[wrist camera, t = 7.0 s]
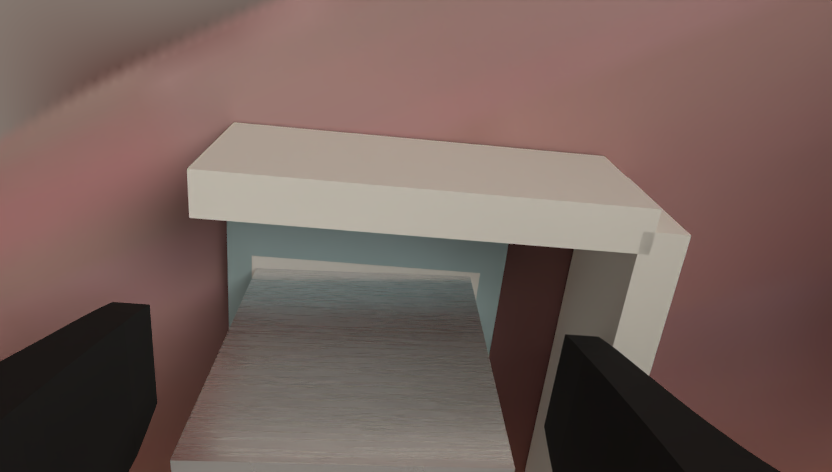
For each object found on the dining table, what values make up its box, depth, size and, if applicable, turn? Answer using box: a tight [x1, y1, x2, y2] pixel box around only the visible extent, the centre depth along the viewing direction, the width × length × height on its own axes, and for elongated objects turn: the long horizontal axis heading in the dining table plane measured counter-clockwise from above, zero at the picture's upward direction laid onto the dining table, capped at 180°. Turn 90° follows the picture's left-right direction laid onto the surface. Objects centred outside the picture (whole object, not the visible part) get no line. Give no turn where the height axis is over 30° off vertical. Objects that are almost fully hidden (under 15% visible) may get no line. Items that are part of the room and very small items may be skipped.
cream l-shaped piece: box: [187, 122, 691, 472], centre depth 13 cm, size 8×8×3 cm
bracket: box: [170, 268, 515, 472], centre depth 12 cm, size 5×4×6 cm
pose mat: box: [227, 221, 508, 355], centre depth 14 cm, size 7×6×1 cm
